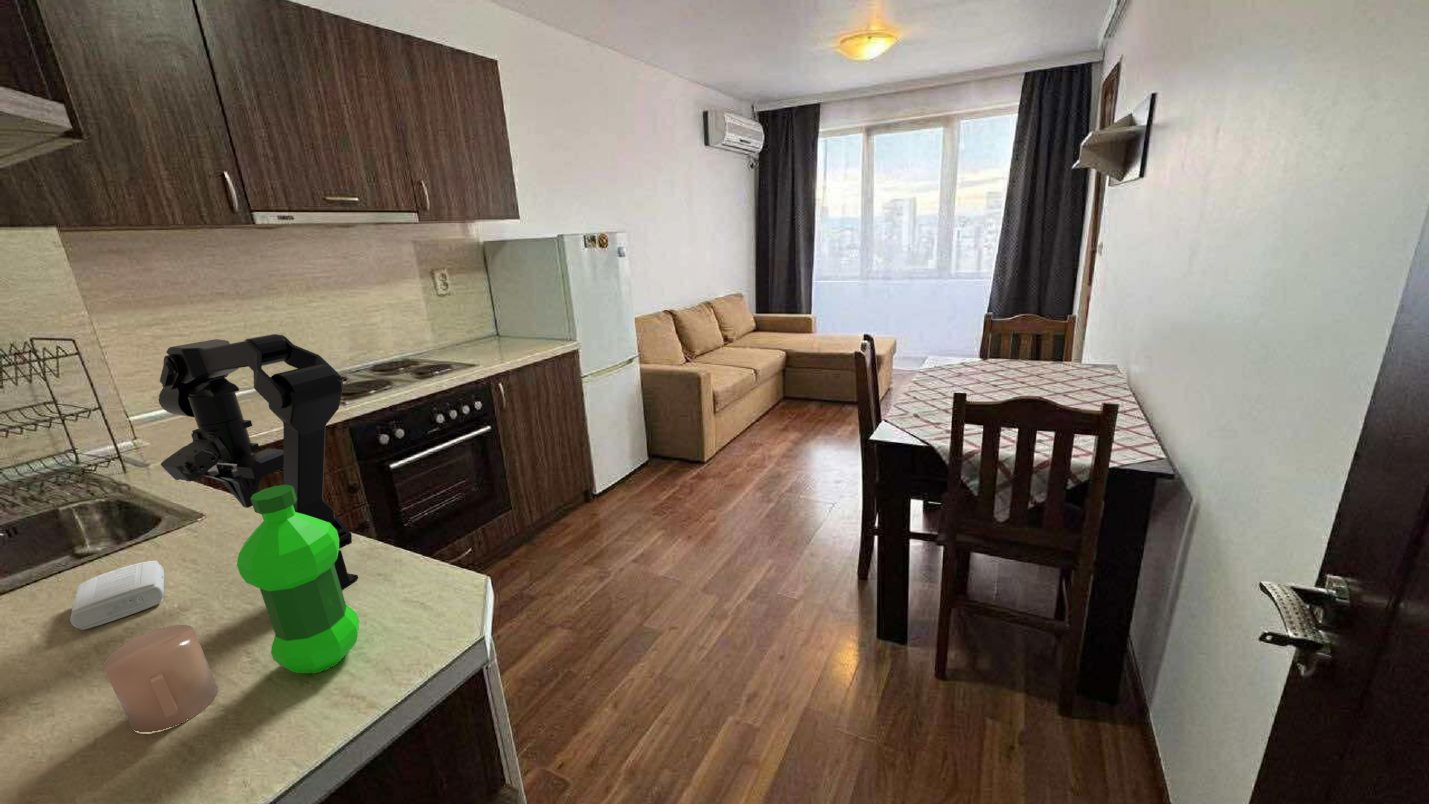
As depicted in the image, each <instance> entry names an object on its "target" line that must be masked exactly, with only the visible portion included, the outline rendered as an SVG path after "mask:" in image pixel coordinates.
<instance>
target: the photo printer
mask: <svg viewBox="0 0 1429 804" xmlns="http://www.w3.org/2000/svg"><path fill="white" fill-rule="evenodd" d="M164 595H165V570H164V568H163V566H162V565H161V564H160V563H159V561H158V560H148V561H143V562H138V563H134V564H130V565H125V566H123V567H120V568H117V569H113V570H111V571H108V572H104V573H102V574H99V575H96V576H95V577H92V578H89V579H87V580H86V581H83V582H81V583H80V584H78V587H77V589H76V594H75V597H74V600H73V604H72V607H71V614H70V619H69V620H70V623H71V625H72V626H73V627H74V628H75V629H80V630H82V631H83V630H88V629H92V628H95V627H98V626H101V625H104V624H107V623H110V622H113V621H116V620H119V619H122V618H125V617H128V616H131V615H133V614H137V613H139V612H141V611H144V610H148V609H149V608H153V607H154V606H157V605H158V604H160V603H162V602H163V600H164Z"/></svg>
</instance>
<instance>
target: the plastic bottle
mask: <svg viewBox="0 0 1429 804" xmlns="http://www.w3.org/2000/svg"><path fill="white" fill-rule="evenodd" d="M296 500H297V498H296V494H295V491H294V488H293V486H290V485H284V484H279V485H274V486H271V487H267V488H264V489H263V488H262V489H261V490H259V491H257V493H255V494H253V495H252V497H251V502H252V505H253V506H252V507H253V511H254V513H256V514H259V515H261V517H262V520H263V521H262V522H261V523H260V524H259V525H258V526H257V527H256V528H255V529H254V531H253V532H252V533H251V534H250V535H249V537H248V538H247V539H246V540H245V542H244V543H243V545H242V546H241V549H240V551H239V552H238V556H237V560H236V561H237V563H236V566H237V569H238V572H239V575H240V576H241V578H242V579H243V580H244V582H245V583H246V584H249V585H250V586H253V587H256V588H257V589H259V590H260V593H261V597H262V599H263V601H264V604H265V607H266V611H267V614H268V617H269V620H270V622H271V626H272V629H273V631H274V634H275V635H274V637H273V641H272V645H271V651H270V653H271V657H272V659H273V660H274V661H275V662H276V663H277V664H279V666H280V667H283V668H285V669H287V670H288V671H291V672H293V673H296V674H307V675H310V674H309V673H312V674H318V672H319V673H322V672H321V671H323V670H325V671H327V670H329V669H330V668H329V667H331V668H333V667H335V666H334V665H336V664H337V665H338V664H339V663H340V662H342V660H343V659H345V657H346V656H347V654H348V653H349V652H350V651H351V649H353V647H354V646H355V644H356V643H357V641H358V635H359V627H360V618H359V615H358V613H357V612H356V611H355V610H354V609H353V608H352V607H351V606H349V605H347V604H346V601H345V598H344V597H345V596H344V593H343V589H341V586H340V582H339V579H338V576H337V572H336V569H335V565H334V563H335V561H336V560H337V557H338V552H339V550H340V549H339V536H338V533H337V530H336V529H335V528H334V527H333V525H332V524H331V523H329V522H326V521H323V520H320V519H317V518H314V517H311V516H308V515H305V514H301V513H297V512H295V509H294V506H293V504H295V503H296ZM345 655H346V656H345ZM344 656H345V657H344ZM342 658H343V659H342ZM341 659H342V660H341ZM339 661H340V662H339ZM338 662H339V663H338ZM337 665H336V666H337ZM332 666H333V667H332ZM328 668H329V669H328ZM326 669H327V670H326ZM323 672H324V671H323Z"/></svg>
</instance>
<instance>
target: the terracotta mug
mask: <svg viewBox="0 0 1429 804" xmlns="http://www.w3.org/2000/svg"><path fill="white" fill-rule="evenodd" d="M102 668H103V671H104V673H105V675H106V677H107V680H108V681H109V682H108V683H109V684H110V685H111V688H112V689H113V692H114V694H115V695H116V698H117V700H118V702H119V704H120V706H121V708H122V710H123V712H124V714H125V717H126V718H127V721H128V723H129V725H130V727H131V728H133V729H134V730H135V731H139V732H152V731H158V730H163V729H166V728H169V727H173V726H175V725H178V724H180V723H182V722H184V721H186V720H187V719H190V720H191V719H193V718H194V717H193V716H195V717H196V716H198V715H199V714H200V713H201V711H202V712H203V711H204V710H206V708H208V707H209V706H210V705H211V703H212V702H213V701H214V700H215V698H216V697H217V695H218V692H219V686H218V685H217V682H216V680H215V677H214V675H213V672H212V670H211V668H210V665H209V663H208V660H207V658H206V656H205V653H204V651H203V648H202V646H201V643H200V641H199V638H198V635H197V633H196V632H195V628H194V627H193V626H191V625H188V624H176V625H174V624H173V625H169V626H163V627H161V628H157V629H155V630H152V631H149V632H147V633H144V634H142V635H140V636H137V637H135V638H133V639H131V640H130V641H128V642H126V643H125V644H123V645H121V646H120V647H119V648H117V649H116V650H115V651H113V652H112V653H111V654H109V655H108V657H107V658H106V660H105V661H104V663H103V665H102ZM192 717H193V718H192ZM186 722H187V721H186ZM184 723H185V722H184ZM182 724H183V723H182ZM180 725H181V724H180ZM178 726H179V725H178ZM133 729H132V730H133Z"/></svg>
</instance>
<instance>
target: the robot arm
mask: <svg viewBox="0 0 1429 804" xmlns="http://www.w3.org/2000/svg"><path fill="white" fill-rule="evenodd" d="M165 353H166V354H167V355H164V358H163V367H162V370H161V374H160V378H159V382H160V383H161V386H162V388H161V390H160V393H159V395H158V399H157V400H158V404H159V405H160V407H161V408H162V409H163V410H164V411H165V412H167V413H169V414H172V415H177V416H178V415H179V416H183V417H190V418H194V420H195V423H196V426H197V429H193V430H191V431H192V432H191V435H190V436H191V439H192V442H190V443H188V444H186V445H185V446H183V447H181V448H180V449H178V450H177V451H175V452H174V453H172V454H171V455H170V456H169V457H166V459H164V460H163V461H162V462H161V463H160V466H161V467H162V468H163V469H164V470H165V471H166V472H167V474H169V475H170V476H171V477H172V478H173V479H174V480H176V481H179V480H181V481H186V482H194V481H195V480H198V479H199V478H200V477H202V476H204V477H206V478H210V479H214V480H217V481H220V482H221V483H222V484H223V485H224V486H225V487H226V488H227V489H228V490H229V492H231V494H232V495H233V496H234V498H235V499H236V501H238V502H239V504H240V505H241V506H242V507H243V508H246V509H248V508H251V507H253V505H252V502H251V497H252V495H253V494H255V493H257V492H259V491H258V490H259V486H260V483H261V480H262V478H263V477H266V476H268V475H271V474H273V473H275V472H277V471H279V470H280V471H281V470H282V469H283V485H290V486H293V488H294V491H295V494H296V498H297V500H296V503H295V504H293V506H294V509H295V512H297V513H301V514H305V515H308V516H311V517H314V518H317V519H320V520H323V521H326V522H329V523H331V524H332V525H333V527H334V528H335V529H336V530H337V533H338V536H339V552H338V557H337V560H336V561H335V563H334V565H335V569H336V572H337V576H338V579H339V582H340V586H341V589H342V590H344V588H346V587H348V586H349V585H351V584H352V583H354V582H355V581H357V580H359V575H358V574H355V573H349V572H348V570H347V566H346V564H345V563H346V562H345V560H344V556H343V553H342V550H341V549H342V548H344V547H346V546H349V545H351V544H352V543H353V542H352V541H353V538H352V537H353V536H352V532H351V531H350V530H349V529H348V528H347V526H345V524H344V522H342V521H341V520H340V519H339V517H338V516H337V515H336V514H335V509H334V508H333V507H332V506H331V505H330V504H328V502H326V501H325V500H324V476H325V474H324V473H325V453H326V452H325V449H326V447H325V446H326V444H325V443H326V426H327V424H328V423H329V421H330V420H331V419H332V418H333V416H334V415H335V414H336V413H337V412H338V410H339V408H340V404H341V399H342V395H343V387H344V383H343V379H342V377H341V375H340V374H339V372H338V371H336V370H335V368H334V367H332V365H331V364H329V362H327V361H326V360H325V359H324V358H323V357H322V356H321V355H320V354H317V353H315V352H312V351H310V350H307V349H305V348H303V347H300V346H298V345H295V344H293V342H291V341H290V340H289V339H288V338H287V336H284V334H277V333H272V334H266V335H261V336H256V337H249V338H246V339H244V340H243V341H239V342H234V343H230V341H229V340H226V339H219V338H217V339H216V338H215V339H209V340H208V339H207V340H203V341H199V342H193V343H192V342H191V343H186V344H180V345H175V346H170V347H168V348H167V350H166V352H165ZM282 362H283V363H285V364H286V365H288V366H290V367H292V368H293V369H291V370H287V371H282V372H279V373H275V374H273V375H271V376H269V375H268V373H266V371H265V370H263V368H262V367H263V366H268V365H272V364H277V363H282ZM247 367H248V368H249V369H250V370H251V371H253V372H252V373H253V389H254V390H255V391H256V392H257V393H258V394H259V395H260V396H261V397H262V398H263V399H264V400H265V401H266V402H267V403H268V408H269V410H270V411H271V412H272V413H273V414H274V415H275V416H276V417H277V418H278V419H279V420H280V421H281V422H282V425H283V449H278V448H266V449H263V450H260V449H261V448H260V445H259V443H256V442H252V441H251V437H250V435H249V432H248V428H250V427H253V422H252V420H250V419H244V416H243V413H242V409H241V406H240V404H239V403H240V402H239V400H238V397H237V394H236V392H239V391H240V388H239V386H238V385H236V384H235V383H233V382H231V381H229V380H228V379H227V377H228V376H229V375H230V374H233V373H234V372H236V371H237V370H239V369H240V368H247ZM258 450H259V451H258ZM255 451H258V452H255ZM253 452H255V453H253Z"/></svg>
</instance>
